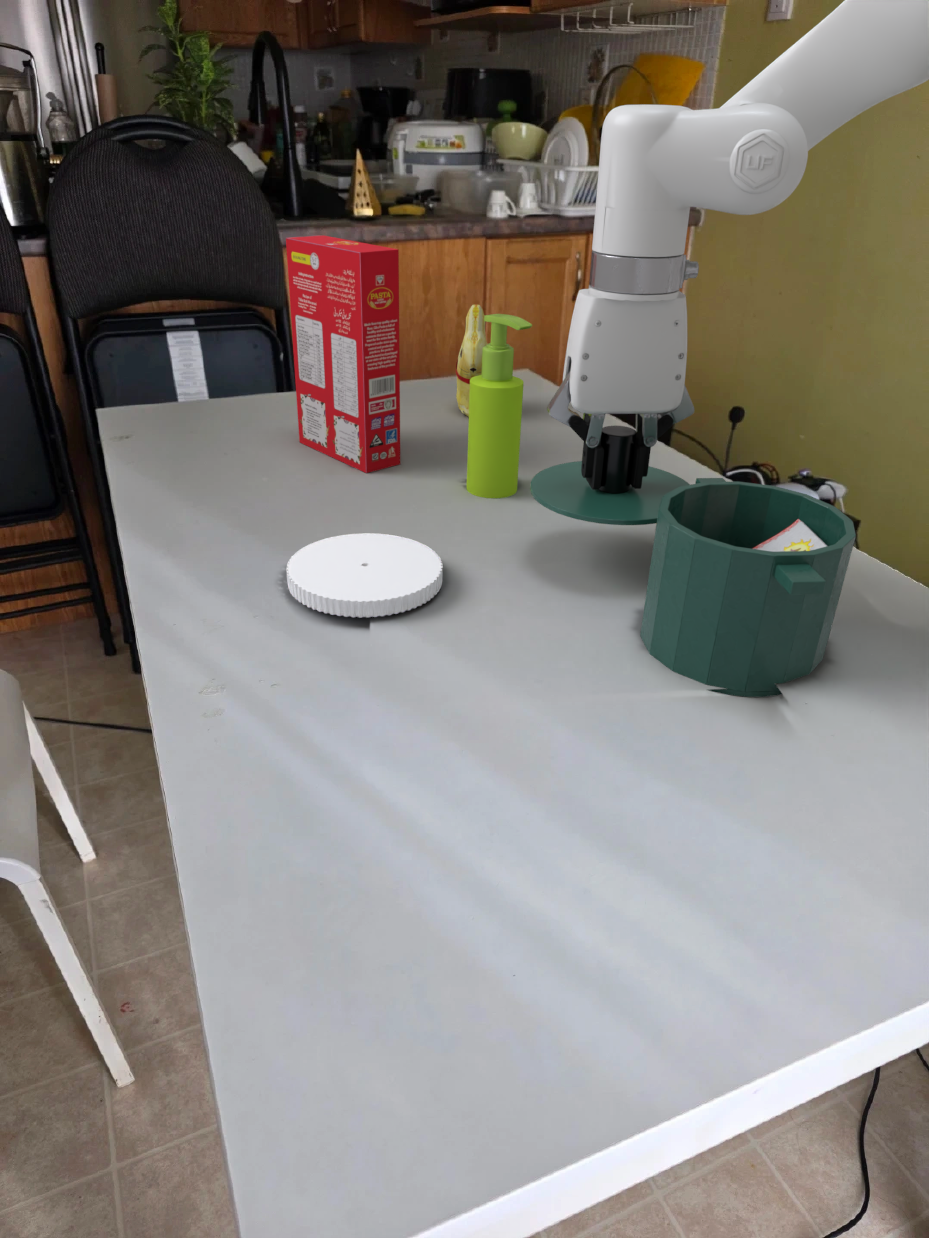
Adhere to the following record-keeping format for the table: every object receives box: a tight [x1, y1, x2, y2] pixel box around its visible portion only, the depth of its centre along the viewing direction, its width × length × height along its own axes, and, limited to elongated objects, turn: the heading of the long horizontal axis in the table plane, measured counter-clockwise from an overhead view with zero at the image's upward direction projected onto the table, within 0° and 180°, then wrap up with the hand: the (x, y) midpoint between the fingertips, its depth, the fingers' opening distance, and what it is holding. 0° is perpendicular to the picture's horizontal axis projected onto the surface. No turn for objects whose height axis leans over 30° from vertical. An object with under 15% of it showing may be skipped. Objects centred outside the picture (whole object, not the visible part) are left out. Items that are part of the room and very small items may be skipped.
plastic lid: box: [285, 532, 444, 618], centre depth 80 cm, size 14×14×2 cm
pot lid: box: [529, 425, 691, 526], centre depth 82 cm, size 15×15×7 cm
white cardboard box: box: [752, 519, 827, 552], centre depth 71 cm, size 4×7×10 cm
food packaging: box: [285, 234, 401, 474], centre depth 107 cm, size 15×5×25 cm, turn 42°
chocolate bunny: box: [455, 304, 488, 418], centre depth 128 cm, size 7×11×15 cm, turn 178°
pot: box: [639, 477, 857, 698], centre depth 71 cm, size 14×20×12 cm
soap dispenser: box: [466, 313, 533, 499], centre depth 97 cm, size 6×7×20 cm
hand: (613, 482), depth 83 cm, fingers closed on pot lid, 3 cm apart
